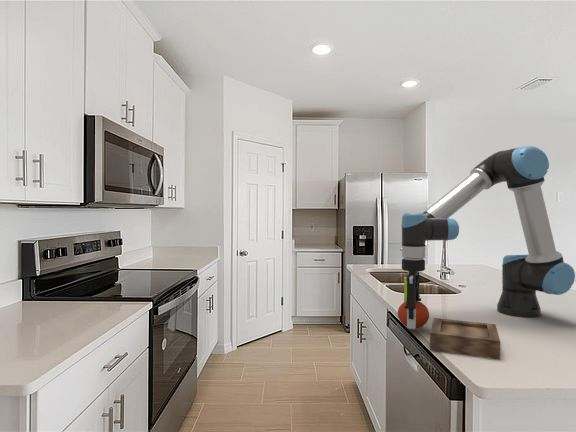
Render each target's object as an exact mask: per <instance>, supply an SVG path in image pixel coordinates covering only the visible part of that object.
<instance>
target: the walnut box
mask: <svg viewBox="0 0 576 432" xmlns="http://www.w3.org/2000/svg"><path fill="white" fill-rule="evenodd" d="M432 321H433V322H432V325H431V329H430V332H429V348H430V349H429V350H430V351H435V352H441V353H449V354H456V355H462V356H463V355H464V356H472V357H479V358H480V357H481V358H485V359H486V358H488V359H494V360H501V339H500V336H499V332H498V329H497V324H495V323H487V322H477V321H467V320H458V319H457V320H456V319H448V318H439V317H434V318H433V320H432Z"/></svg>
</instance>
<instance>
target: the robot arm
mask: <svg viewBox="0 0 576 432" xmlns="http://www.w3.org/2000/svg"><path fill="white" fill-rule="evenodd" d="M549 168H550V162H549V158H548V155H546V153H545V152H544V151H543V150H542V149H541V148H539V147H537V146H534V145H533V146H531V145H529V146H519V147H515V148H510V149H505V150H500V151H497V152H494V153H492V154H491V155H490V156H488V157H486V158H485V159H484V160H482V161H481V162H480V163H478V165H477V164H476V165H475V167H474V168H472V169H471V170H470V171H469V175H468V176H466V177H465V178H464V179H463V180H462V181H461V182H459V183H458V184H456V186H454V187H453V188H452V189H450V190H449V191H448V192H447V193H446V194H444V195H443V196H442V197H441V198H439V199H438V200H437V201H436V202H435V203H433V204H432V205H431V206H429V207H428V208H427V209H426V210H424V211H423V212H404V213H403V214H402V217H401V248H400V249H399V252H401V257H402V259H401V270H402V271H405V272H408V271H409V275H408V274H407V302H406V306H405V309H407V326H406V329H409V330H416V329H417V328H416V309H415V308H416V307H415V302H416V301H417V302H418V301H419V302H421V301H422V298H420V297H421V295H420V279H421V275H420V272H424V271H425V270H426V260H425V258H426V242H427V241H446V242H448V241H454V240H455V239H457V238H458V236H459V233H460V226H459V223H458V221H457V220H456V219H454V218H450V217H451V216H453V215H454V214H455V213H457V212H458V211H459V210H460V209H462V208H463V207H464V206H466V204H468V203H469V202H470V201H471V200H473V199H474V198H475V197H477V196H478V195H479V194H480V193H482V192H483V191H484V190H489V189H490V188H492V187H493V186H495V185H497V184H501V183H504V182H505V183H506V185H507V189H508V190H510V191H511V192H513V194H514V198H515V203H516V206H517V211H518V215H519V219H520V224H521V227H522V231H523V236H524V240H525V244H526V249H527V252H528V254H506V255H504V256H503V258H502V264H501V269H502V272H501V273H502V277H501V279H502V280H501V281H502V284H501V285H502V287H501V294H500V295H499V300H498V302H497V306H496V310H497V312H498V313H499V312H500V313H501V314H503V315H508V316H515V317H524V318H536V317H540V316H541V315H542V310H541V309H542V308H541V306H540V302H539V300H538V297H537V292H542V293H545V294H546V295H556V296H561V295H564V294H566V293H567V292H568V291H570V290H571V288H572V287H573V285H574V282H575V280H576V279H575V277H576V276H575V275H576V274H575V270H574V268H573V267H572V266H571V265H570V264H569V263H567V262H565V261H564V257H563V254H562V253H561V252H559V251H558V250H556V246H555V240H554V236H553V232H552V228H551V223H550V220H549V215H548V211H547V207H546V203H545V199H544V198H545V197H544V194H543V189H542V185H543V183H545V176H546V175H547V173H548V172H549V171H548V169H549ZM411 304H413V305H411Z"/></svg>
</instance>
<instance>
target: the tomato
mask: <svg viewBox="0 0 576 432" xmlns="http://www.w3.org/2000/svg"><path fill="white" fill-rule="evenodd" d="M406 302H407V301H406ZM406 302H404V301H403V302H402V303H401V304H400V305H399V306H398V308H397V309H398V310H397V318H398V321H400V323H401V324H403V326H405V327H407V309H405V306H406ZM411 305H413V304H411ZM415 307H416V308H415V309H416V329H420V328H422V327H424V326H425V325H427V323H428V321H429V319H430V312H429V309H428V308H427V306H426V305H425V304H424V303H423V301H422V302H421V301H419V302H417V301H416V302H415Z"/></svg>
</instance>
